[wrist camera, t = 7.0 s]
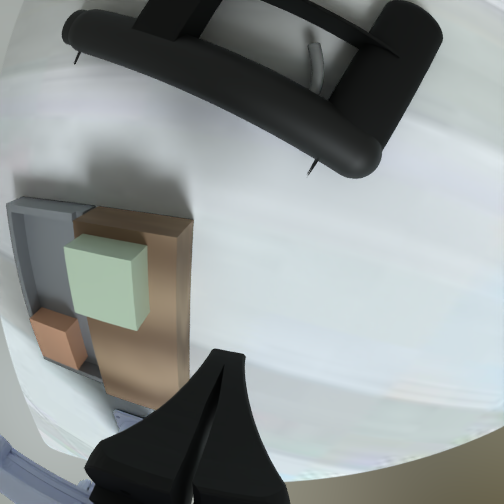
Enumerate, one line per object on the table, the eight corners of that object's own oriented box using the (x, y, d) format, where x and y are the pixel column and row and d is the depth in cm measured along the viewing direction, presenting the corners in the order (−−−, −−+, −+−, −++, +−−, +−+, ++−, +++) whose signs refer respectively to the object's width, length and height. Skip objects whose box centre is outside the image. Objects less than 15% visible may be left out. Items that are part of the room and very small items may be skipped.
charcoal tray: (117, 370, 26) (108, 385, 24) (54, 347, 26) (44, 358, 24) (94, 205, 19) (78, 214, 17) (22, 196, 20) (5, 203, 18)
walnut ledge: (189, 391, 25) (180, 416, 23) (119, 371, 26) (106, 393, 23) (193, 219, 19) (177, 237, 16) (98, 206, 19) (72, 220, 16)
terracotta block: (43, 355, 23) (53, 343, 25) (78, 370, 23) (88, 356, 25) (29, 318, 21) (41, 307, 23) (65, 332, 21) (77, 318, 23)
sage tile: (150, 311, 18) (136, 331, 16) (90, 296, 19) (75, 312, 17) (147, 245, 16) (131, 261, 15) (82, 233, 17) (63, 246, 15)
